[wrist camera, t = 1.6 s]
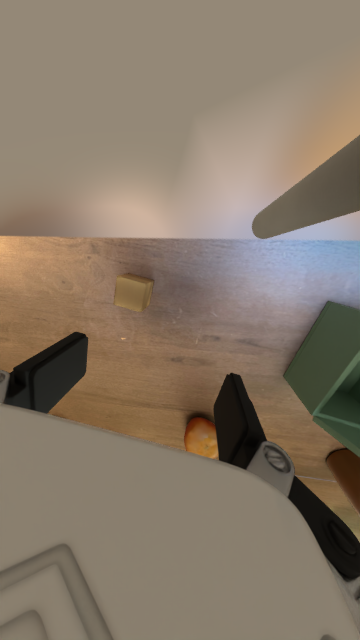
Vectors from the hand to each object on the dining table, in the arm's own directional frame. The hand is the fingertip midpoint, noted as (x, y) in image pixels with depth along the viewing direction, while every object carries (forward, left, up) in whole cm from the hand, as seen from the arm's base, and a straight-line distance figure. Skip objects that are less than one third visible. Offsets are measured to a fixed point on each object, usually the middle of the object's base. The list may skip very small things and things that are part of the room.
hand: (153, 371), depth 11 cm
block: (0, -8, -20) cm, 22 cm away
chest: (+1, +29, -20) cm, 35 cm away
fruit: (+27, +12, -20) cm, 36 cm away
